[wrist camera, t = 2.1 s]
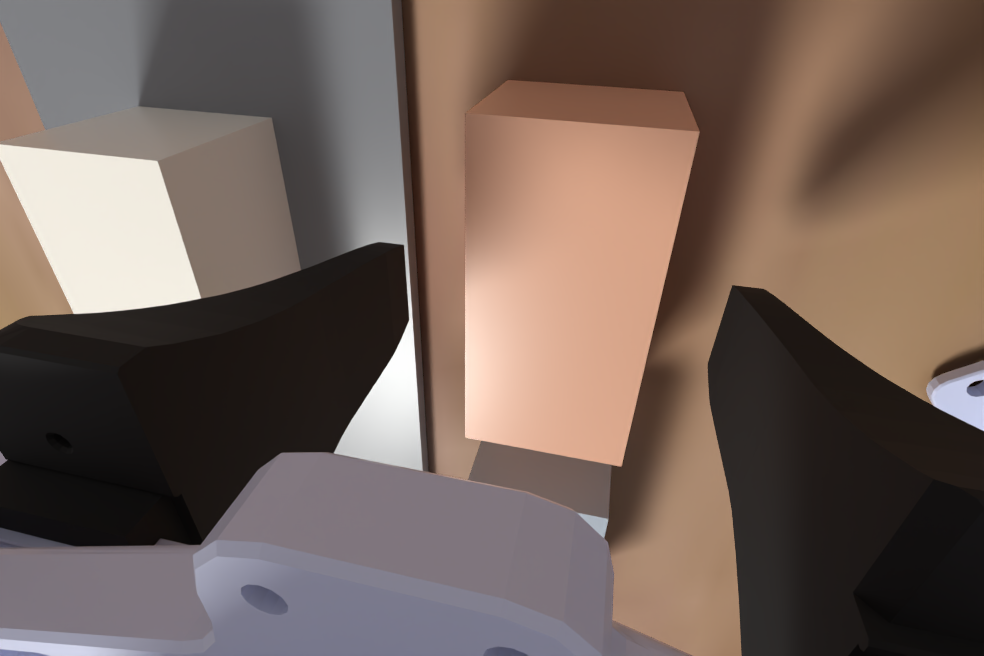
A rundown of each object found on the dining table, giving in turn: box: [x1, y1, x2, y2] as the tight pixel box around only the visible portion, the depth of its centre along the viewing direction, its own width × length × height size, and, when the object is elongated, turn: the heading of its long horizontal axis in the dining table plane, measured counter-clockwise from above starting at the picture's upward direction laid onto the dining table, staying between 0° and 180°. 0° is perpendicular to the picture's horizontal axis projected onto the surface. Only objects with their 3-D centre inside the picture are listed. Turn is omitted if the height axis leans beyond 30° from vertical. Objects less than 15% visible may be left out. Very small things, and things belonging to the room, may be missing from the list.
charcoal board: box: [0, 0, 429, 472], centre depth 17 cm, size 22×11×1 cm, turn 179°
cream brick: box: [0, 106, 301, 314], centre depth 15 cm, size 8×4×4 cm, turn 179°
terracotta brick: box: [465, 80, 700, 467], centre depth 13 cm, size 8×4×4 cm, turn 179°
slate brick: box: [468, 441, 611, 538], centre depth 19 cm, size 8×4×4 cm, turn 179°
